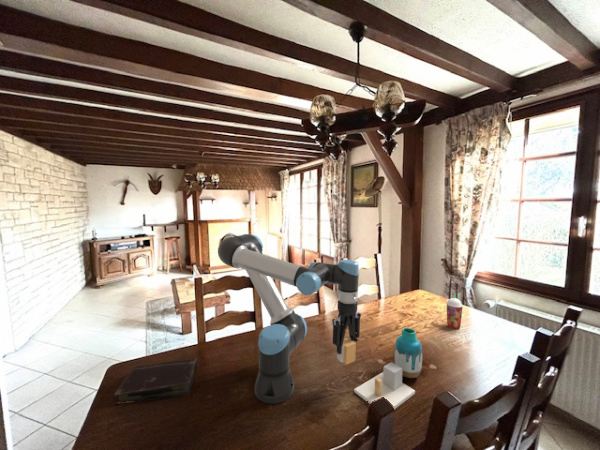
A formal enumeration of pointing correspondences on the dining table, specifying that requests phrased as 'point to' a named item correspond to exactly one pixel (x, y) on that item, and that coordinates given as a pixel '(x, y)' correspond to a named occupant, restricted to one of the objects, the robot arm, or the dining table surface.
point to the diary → (157, 381)
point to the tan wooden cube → (349, 351)
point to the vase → (408, 353)
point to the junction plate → (386, 386)
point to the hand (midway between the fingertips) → (345, 358)
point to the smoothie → (454, 312)
